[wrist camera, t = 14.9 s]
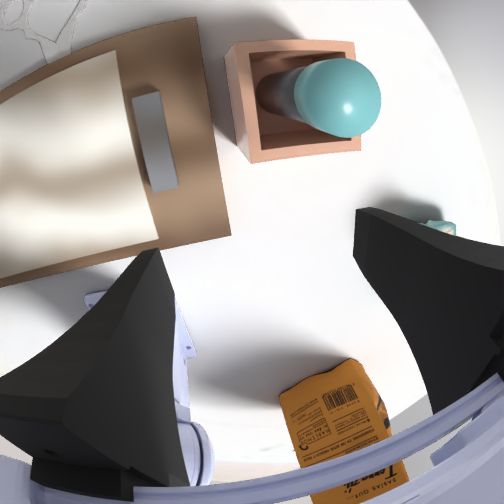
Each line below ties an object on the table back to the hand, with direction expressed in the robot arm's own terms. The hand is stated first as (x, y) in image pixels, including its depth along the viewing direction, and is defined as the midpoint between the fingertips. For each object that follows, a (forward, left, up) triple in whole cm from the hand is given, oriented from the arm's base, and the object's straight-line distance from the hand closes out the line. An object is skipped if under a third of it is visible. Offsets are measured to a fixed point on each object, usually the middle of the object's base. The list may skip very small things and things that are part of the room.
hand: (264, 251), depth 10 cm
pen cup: (+5, -4, -10) cm, 12 cm away
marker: (+5, -4, -10) cm, 12 cm away
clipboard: (+3, +13, -10) cm, 17 cm away
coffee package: (-30, -8, -11) cm, 33 cm away
